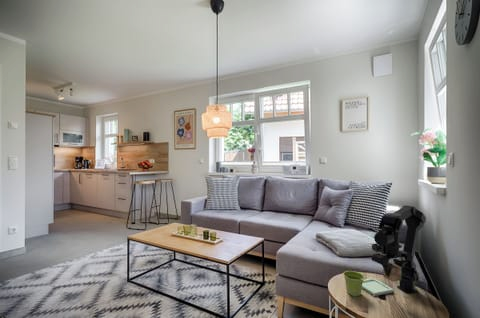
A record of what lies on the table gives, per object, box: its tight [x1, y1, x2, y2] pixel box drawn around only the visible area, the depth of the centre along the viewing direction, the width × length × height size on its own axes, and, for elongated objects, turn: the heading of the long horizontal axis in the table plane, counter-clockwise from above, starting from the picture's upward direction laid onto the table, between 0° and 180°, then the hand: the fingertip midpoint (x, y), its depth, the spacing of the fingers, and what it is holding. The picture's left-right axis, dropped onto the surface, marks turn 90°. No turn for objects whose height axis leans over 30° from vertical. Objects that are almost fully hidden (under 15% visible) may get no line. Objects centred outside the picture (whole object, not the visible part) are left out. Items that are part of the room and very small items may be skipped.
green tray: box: [361, 277, 394, 297], centre depth 122 cm, size 12×12×2 cm
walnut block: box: [382, 262, 401, 283], centre depth 112 cm, size 5×5×6 cm
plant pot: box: [342, 270, 365, 297], centre depth 118 cm, size 9×9×9 cm
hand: (392, 275), depth 112 cm, fingers closed on walnut block, 5 cm apart
